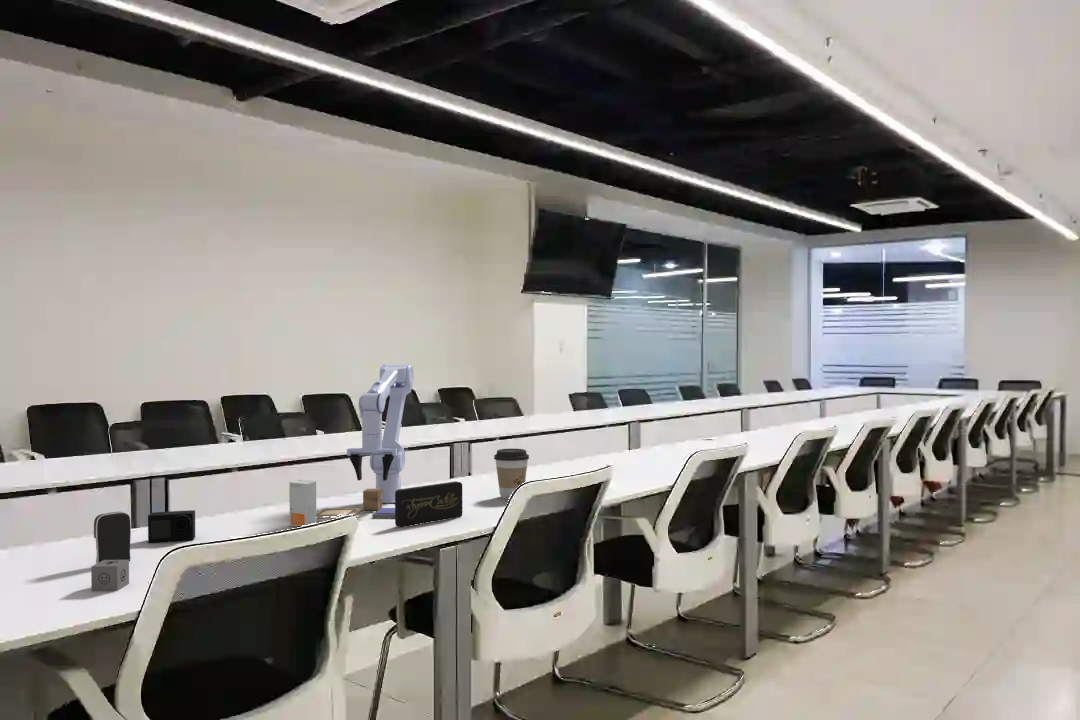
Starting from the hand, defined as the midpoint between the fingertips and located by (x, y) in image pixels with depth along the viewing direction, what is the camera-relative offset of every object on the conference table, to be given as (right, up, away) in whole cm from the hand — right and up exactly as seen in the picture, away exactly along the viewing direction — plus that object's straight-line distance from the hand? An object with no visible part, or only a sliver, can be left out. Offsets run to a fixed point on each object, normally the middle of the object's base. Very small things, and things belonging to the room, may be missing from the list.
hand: (372, 480), depth 241 cm
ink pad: (+7, -9, -7) cm, 14 cm away
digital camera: (-42, -10, -37) cm, 57 cm away
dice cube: (-37, -11, -77) cm, 86 cm away
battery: (-46, -10, -59) cm, 75 cm away
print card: (-9, -9, -5) cm, 14 cm away
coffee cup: (+40, -9, +20) cm, 46 cm away
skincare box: (-14, -10, -21) cm, 27 cm away
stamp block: (0, -9, 0) cm, 9 cm away
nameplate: (+19, -9, -16) cm, 27 cm away
